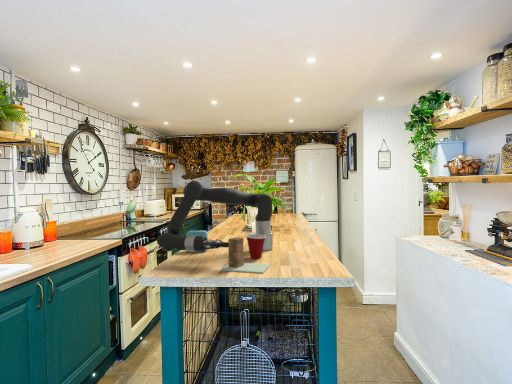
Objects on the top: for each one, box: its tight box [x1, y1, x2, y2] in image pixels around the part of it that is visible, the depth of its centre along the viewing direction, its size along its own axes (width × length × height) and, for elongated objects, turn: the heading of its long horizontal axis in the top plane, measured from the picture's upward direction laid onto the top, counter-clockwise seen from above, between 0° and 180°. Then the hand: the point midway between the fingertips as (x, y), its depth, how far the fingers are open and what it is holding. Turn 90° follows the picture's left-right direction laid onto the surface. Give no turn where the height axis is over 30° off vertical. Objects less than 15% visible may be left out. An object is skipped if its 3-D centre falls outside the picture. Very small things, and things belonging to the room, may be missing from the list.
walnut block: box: [227, 237, 245, 268], centre depth 151 cm, size 5×5×13 cm
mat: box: [220, 262, 272, 274], centre depth 149 cm, size 20×14×1 cm
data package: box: [185, 230, 209, 253], centre depth 188 cm, size 12×4×12 cm, turn 86°
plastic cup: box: [245, 233, 266, 260], centre depth 170 cm, size 11×11×12 cm
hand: (229, 244), depth 152 cm, fingers closed
